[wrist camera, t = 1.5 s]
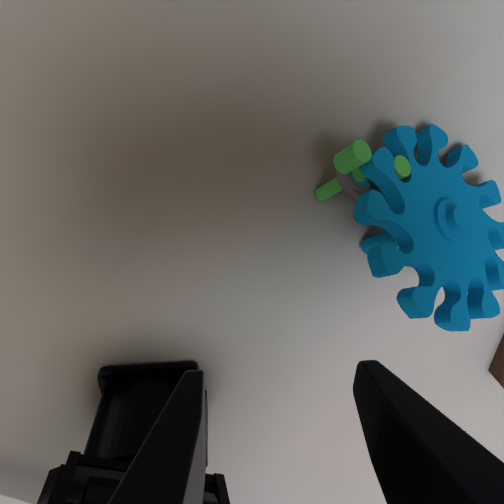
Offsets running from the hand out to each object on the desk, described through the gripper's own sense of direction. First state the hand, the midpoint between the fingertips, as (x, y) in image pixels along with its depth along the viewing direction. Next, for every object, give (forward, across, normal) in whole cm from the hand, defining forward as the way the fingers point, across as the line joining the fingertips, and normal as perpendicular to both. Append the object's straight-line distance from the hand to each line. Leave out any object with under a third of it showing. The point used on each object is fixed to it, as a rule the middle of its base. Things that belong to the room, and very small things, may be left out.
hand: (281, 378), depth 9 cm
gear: (+13, -9, 0) cm, 16 cm away
